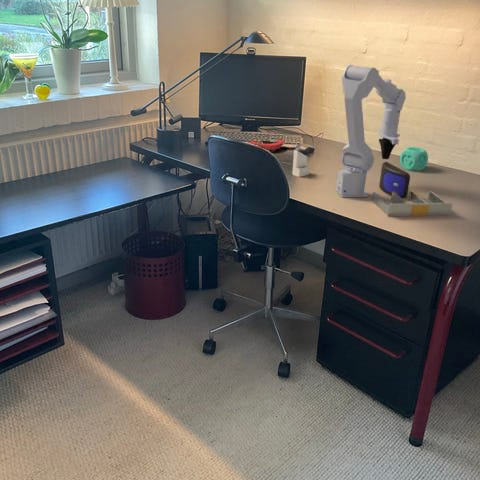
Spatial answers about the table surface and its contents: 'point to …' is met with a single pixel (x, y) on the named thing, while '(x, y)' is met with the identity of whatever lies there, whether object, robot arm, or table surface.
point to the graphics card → (269, 144)
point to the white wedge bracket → (300, 164)
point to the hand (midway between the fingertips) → (385, 158)
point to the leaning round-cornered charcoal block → (394, 180)
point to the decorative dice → (414, 158)
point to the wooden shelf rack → (413, 205)
